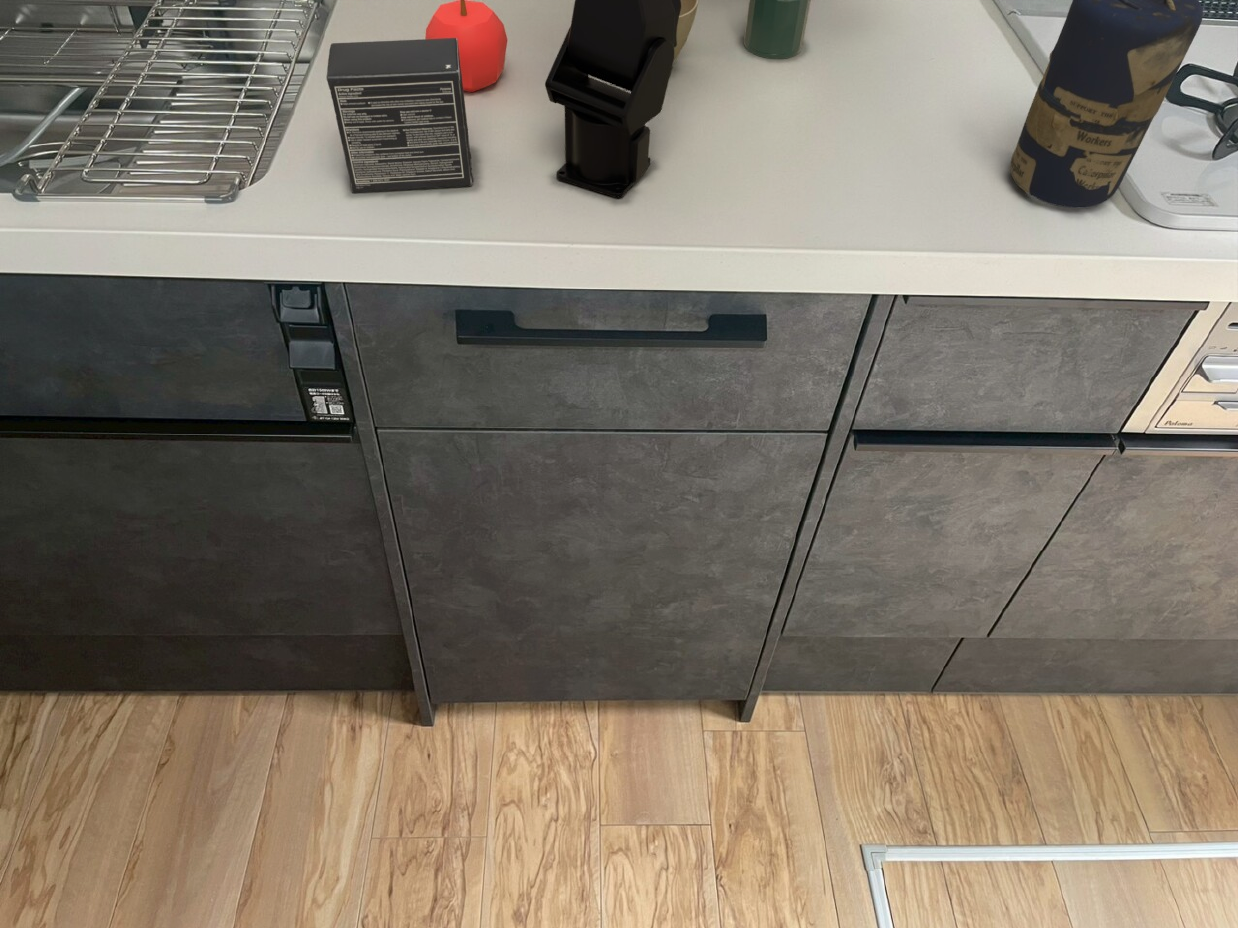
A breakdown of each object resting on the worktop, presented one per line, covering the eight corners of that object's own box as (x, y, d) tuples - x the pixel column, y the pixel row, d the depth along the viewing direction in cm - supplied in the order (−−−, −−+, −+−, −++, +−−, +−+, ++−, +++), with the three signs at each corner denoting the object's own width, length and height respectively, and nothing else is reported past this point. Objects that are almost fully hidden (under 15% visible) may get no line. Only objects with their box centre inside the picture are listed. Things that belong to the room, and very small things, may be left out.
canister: (1034, 221, 81) (1127, 11, 68) (986, 161, 87) (1062, -44, 73) (1133, 211, 83) (1244, 4, 69) (1079, 152, 89) (1171, -50, 75)
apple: (475, 109, 90) (468, 26, 84) (412, 84, 93) (401, 1, 87) (526, 76, 95) (522, -5, 88) (464, 53, 97) (457, -28, 91)
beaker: (735, 50, 100) (742, -8, 95) (755, 26, 103) (763, -31, 99) (790, 64, 98) (800, 6, 93) (809, 40, 102) (820, -18, 97)
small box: (471, 147, 86) (459, 33, 78) (474, 188, 82) (462, 72, 74) (352, 153, 85) (329, 38, 77) (350, 195, 81) (324, 78, 73)
